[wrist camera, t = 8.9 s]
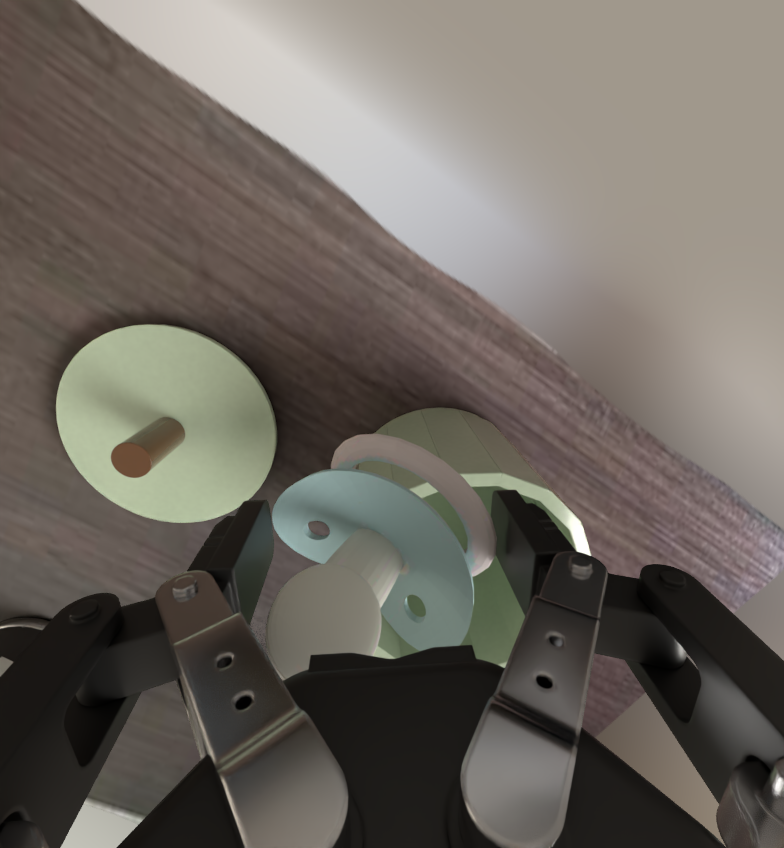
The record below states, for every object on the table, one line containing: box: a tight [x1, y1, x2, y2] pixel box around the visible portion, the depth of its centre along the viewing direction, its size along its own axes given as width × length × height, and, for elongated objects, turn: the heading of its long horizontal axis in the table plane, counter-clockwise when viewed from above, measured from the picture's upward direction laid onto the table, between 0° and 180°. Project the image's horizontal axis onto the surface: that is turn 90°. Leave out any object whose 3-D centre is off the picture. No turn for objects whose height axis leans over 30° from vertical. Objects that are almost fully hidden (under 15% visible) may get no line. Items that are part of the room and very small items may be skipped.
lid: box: [56, 324, 277, 523], centre depth 28 cm, size 15×15×6 cm
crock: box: [355, 407, 592, 668], centre depth 28 cm, size 14×14×12 cm
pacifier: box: [266, 434, 497, 680], centre depth 12 cm, size 7×6×6 cm
